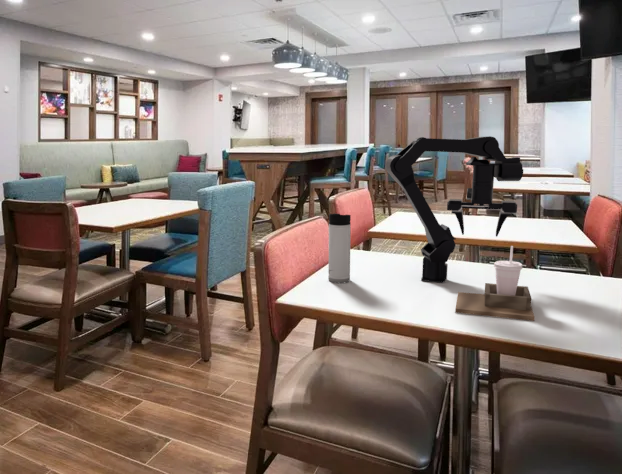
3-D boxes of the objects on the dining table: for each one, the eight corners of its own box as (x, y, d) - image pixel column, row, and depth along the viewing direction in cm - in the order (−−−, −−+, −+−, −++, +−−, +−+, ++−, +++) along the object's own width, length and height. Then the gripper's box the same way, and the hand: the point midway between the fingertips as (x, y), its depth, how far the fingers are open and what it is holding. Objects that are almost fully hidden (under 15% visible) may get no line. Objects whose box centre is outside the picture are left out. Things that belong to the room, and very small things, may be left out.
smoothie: (516, 307, 114) (521, 249, 112) (488, 303, 118) (492, 246, 115) (522, 300, 119) (526, 245, 117) (495, 296, 123) (498, 242, 120)
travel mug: (324, 282, 140) (325, 213, 136) (332, 276, 146) (333, 210, 142) (345, 284, 137) (346, 214, 134) (352, 278, 143) (353, 211, 140)
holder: (455, 312, 114) (456, 296, 113) (457, 295, 127) (458, 280, 126) (534, 320, 108) (535, 303, 108) (528, 302, 122) (529, 286, 121)
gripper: (516, 180, 142) (512, 232, 145) (450, 179, 148) (448, 229, 151) (519, 183, 132) (514, 239, 135) (448, 181, 138) (445, 235, 141)
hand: (479, 235), depth 141 cm, fingers open, 9 cm apart
